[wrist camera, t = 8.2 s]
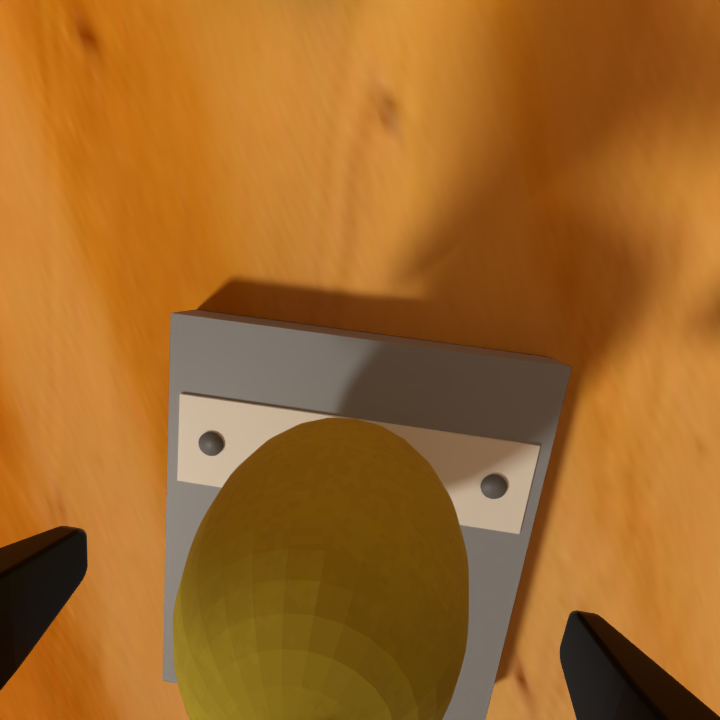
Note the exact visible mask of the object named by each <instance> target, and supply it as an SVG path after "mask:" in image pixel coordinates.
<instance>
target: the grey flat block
mask: <svg viewBox="0 0 720 720" xmlns="http://www.w3.org/2000/svg"><path fill="white" fill-rule="evenodd" d="M571 369H572V367H571V366H568V365H566V364H564V363H562V362H560V361H557V360H555V359H553V358H551V357H545V356H537V355H530V354H522V353H515V352H507V351H500V350H492V349H485V348H478V347H470V346H463V345H455V344H448V343H440V342H433V341H425V340H418V339H410V338H403V337H395V336H388V335H381V334H373V333H366V332H358V331H351V330H343V329H336V328H328V327H321V326H313V325H306V324H299V323H291V322H284V321H276V320H269V319H261V318H254V317H246V316H239V315H231V314H224V313H217V312H209V311H202V310H189V311H182V312H175V313H171V331H170V376H169V420H168V465H167V509H166V553H165V598H164V642H163V681H166V682H171V683H177V684H178V682H177V678H176V673H175V669H174V648H173V613H174V607H175V600H176V596H177V592H178V589H179V585H180V582H181V578H182V574H183V571H184V567H185V564H186V560H187V557H188V553H189V550H190V547H191V545H192V542H193V539H194V536H195V534H196V532H197V530H198V527H199V525H200V523H201V521H202V519H203V517H204V516H205V514H206V512H207V510H208V509H209V507H210V505H211V504H212V502H213V501H214V499H215V498H216V496H217V495H218V493H219V491H220V490H221V488H222V487H223V485H224V484H225V482H226V481H227V479H228V478H229V476H230V475H231V474H232V473H233V471H234V470H235V469H236V468H237V467H238V466H239V465H240V464H241V463H242V462H243V461H245V460H246V459H247V458H248V457H249V456H250V455H251V454H252V453H254V452H255V451H256V450H257V449H258V448H259V447H260V446H261V445H263V444H264V443H265V442H266V441H267V440H269V439H271V438H272V437H274V436H276V435H278V434H280V433H282V432H284V431H286V430H288V429H290V428H292V427H294V426H296V425H299V424H301V423H305V422H310V421H315V420H320V419H325V418H351V419H358V420H362V421H365V422H369V423H372V424H376V425H379V426H382V427H384V428H386V429H387V430H389V431H391V432H393V433H394V434H396V435H398V436H400V437H401V438H403V439H405V440H406V441H407V442H408V443H409V444H410V445H411V446H412V447H413V448H414V449H415V450H416V451H418V452H419V453H420V454H421V455H422V456H423V457H424V458H425V459H426V460H427V461H428V462H429V463H430V465H431V466H432V468H433V469H434V471H435V473H436V474H437V476H438V477H439V479H440V481H441V482H442V484H443V485H444V487H445V489H446V490H447V492H448V494H449V496H450V498H451V500H452V502H453V505H454V508H455V511H456V514H457V517H458V521H459V524H460V528H461V531H462V535H463V538H464V542H465V547H466V552H467V558H468V567H469V623H468V637H467V645H466V652H465V656H464V660H463V664H462V668H461V671H460V675H459V678H458V681H457V684H456V687H455V690H454V693H453V696H452V700H451V702H450V704H449V706H448V708H447V711H446V713H445V715H444V717H443V719H442V720H485V719H486V715H487V711H488V707H489V703H490V699H491V695H492V691H493V687H494V683H495V679H496V675H497V670H498V666H499V662H500V658H501V654H502V650H503V646H504V642H505V638H506V634H507V630H508V626H509V622H510V617H511V613H512V609H513V605H514V601H515V597H516V593H517V589H518V585H519V581H520V577H521V573H522V569H523V564H524V560H525V556H526V552H527V548H528V544H529V540H530V536H531V532H532V528H533V524H534V520H535V516H536V512H537V507H538V503H539V499H540V495H541V491H542V487H543V483H544V479H545V475H546V471H547V467H548V463H549V459H550V454H551V450H552V446H553V442H554V438H555V434H556V430H557V426H558V422H559V418H560V414H561V410H562V406H563V401H564V397H565V393H566V389H567V385H568V381H569V377H570V373H571Z"/></svg>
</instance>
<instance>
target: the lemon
mask: <svg viewBox="0 0 720 720" xmlns="http://www.w3.org/2000/svg"><path fill="white" fill-rule="evenodd" d="M468 623H469V567H468V558H467V552H466V547H465V542H464V538H463V535H462V531H461V528H460V524H459V521H458V517H457V514H456V511H455V508H454V505H453V502H452V500H451V498H450V496H449V494H448V492H447V490H446V489H445V487H444V485H443V484H442V482H441V481H440V479H439V477H438V476H437V474H436V473H435V471H434V469H433V468H432V466H431V465H430V463H429V462H428V461H427V460H426V459H425V458H424V457H423V456H422V455H421V454H420V453H419V452H418V451H416V450H415V449H414V448H413V447H412V446H411V445H410V444H409V443H408V442H407V441H406V440H405V439H403V438H401V437H400V436H398V435H396V434H394V433H393V432H391V431H389V430H387V429H386V428H384V427H382V426H379V425H376V424H372V423H369V422H365V421H362V420H358V419H351V418H325V419H320V420H315V421H310V422H305V423H301V424H299V425H296V426H294V427H292V428H290V429H288V430H286V431H284V432H282V433H280V434H278V435H276V436H274V437H272V438H271V439H269V440H267V441H266V442H265V443H264V444H263V445H261V446H260V447H259V448H258V449H257V450H256V451H255V452H254V453H252V454H251V455H250V456H249V457H248V458H247V459H246V460H245V461H243V462H242V463H241V464H240V465H239V466H238V467H237V468H236V469H235V470H234V471H233V473H232V474H231V475H230V476H229V478H228V479H227V481H226V482H225V484H224V485H223V487H222V488H221V490H220V491H219V493H218V495H217V496H216V498H215V499H214V501H213V502H212V504H211V505H210V507H209V509H208V510H207V512H206V514H205V516H204V517H203V519H202V521H201V523H200V525H199V527H198V530H197V532H196V534H195V536H194V539H193V542H192V545H191V547H190V550H189V553H188V557H187V560H186V564H185V567H184V571H183V574H182V578H181V582H180V585H179V589H178V592H177V596H176V600H175V607H174V613H173V648H174V669H175V673H176V678H177V682H178V686H179V689H180V692H181V696H182V699H183V702H184V705H185V708H186V711H187V714H188V716H189V718H190V720H442V719H443V717H444V715H445V713H446V711H447V708H448V706H449V704H450V702H451V700H452V696H453V693H454V690H455V687H456V684H457V681H458V678H459V675H460V671H461V668H462V664H463V660H464V656H465V652H466V645H467V637H468Z"/></svg>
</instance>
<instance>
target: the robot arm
mask: <svg viewBox="0 0 720 720" xmlns="http://www.w3.org/2000/svg"><path fill="white" fill-rule="evenodd" d="M86 570H87V535H86V533H85V531H84V530H83V529H80V528H75V527H69V526H60V527H56V528H54V529H51V530H48V531H45V532H43V533H40V534H37V535H35V536H32V537H29V538H26V539H24V540H21V541H18V542H15V543H13V544H10V545H7V546H4V547H2V548H0V690H1V689H2V688H3V687H4V685H5V684H6V683H7V682H8V680H9V679H10V678H11V677H12V676H13V674H14V673H15V672H16V671H17V669H18V668H19V667H20V665H21V664H22V663H23V661H24V660H25V659H26V657H27V656H28V655H29V653H30V652H31V651H32V649H33V648H34V647H35V645H36V644H37V642H38V641H39V640H40V638H41V637H42V635H43V634H44V633H45V631H46V630H47V629H48V627H49V626H50V624H51V623H52V622H53V620H54V619H55V617H56V616H57V615H58V613H59V612H60V611H61V609H62V608H63V606H64V605H65V604H66V602H67V601H68V600H69V598H70V597H71V595H72V594H73V593H74V591H75V590H76V588H77V587H78V586H79V584H80V583H81V581H82V580H83V578H84V576H85V573H86ZM560 660H561V665H562V669H563V672H564V676H565V679H566V683H567V686H568V690H569V694H570V697H571V701H572V704H573V708H574V711H575V715H576V718H577V720H720V717H719V716H718V715H717V714H716V713H715V712H713V711H712V710H711V709H710V708H709V707H707V706H706V705H705V704H704V703H703V702H701V701H700V700H699V699H698V698H697V697H696V696H694V695H693V694H692V693H691V692H690V691H688V690H687V689H686V688H685V687H684V686H682V685H681V684H680V683H679V682H678V681H677V680H675V679H674V678H673V677H672V676H671V675H669V674H668V673H667V672H666V671H665V670H663V669H662V668H661V667H660V666H659V665H658V664H656V663H655V662H654V661H653V660H652V659H650V658H649V657H648V656H647V655H646V654H644V653H643V652H642V651H641V650H640V649H639V648H637V647H636V646H635V645H634V644H633V643H631V642H630V641H629V640H628V639H627V638H625V637H624V636H623V635H622V634H621V633H620V632H618V631H617V630H616V629H615V628H614V627H612V626H611V625H610V624H609V623H608V622H606V621H605V620H604V619H603V618H602V617H600V616H599V615H597V614H594V613H589V612H583V611H573V612H571V614H570V615H569V618H568V621H567V625H566V628H565V632H564V635H563V639H562V642H561V646H560Z"/></svg>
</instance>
